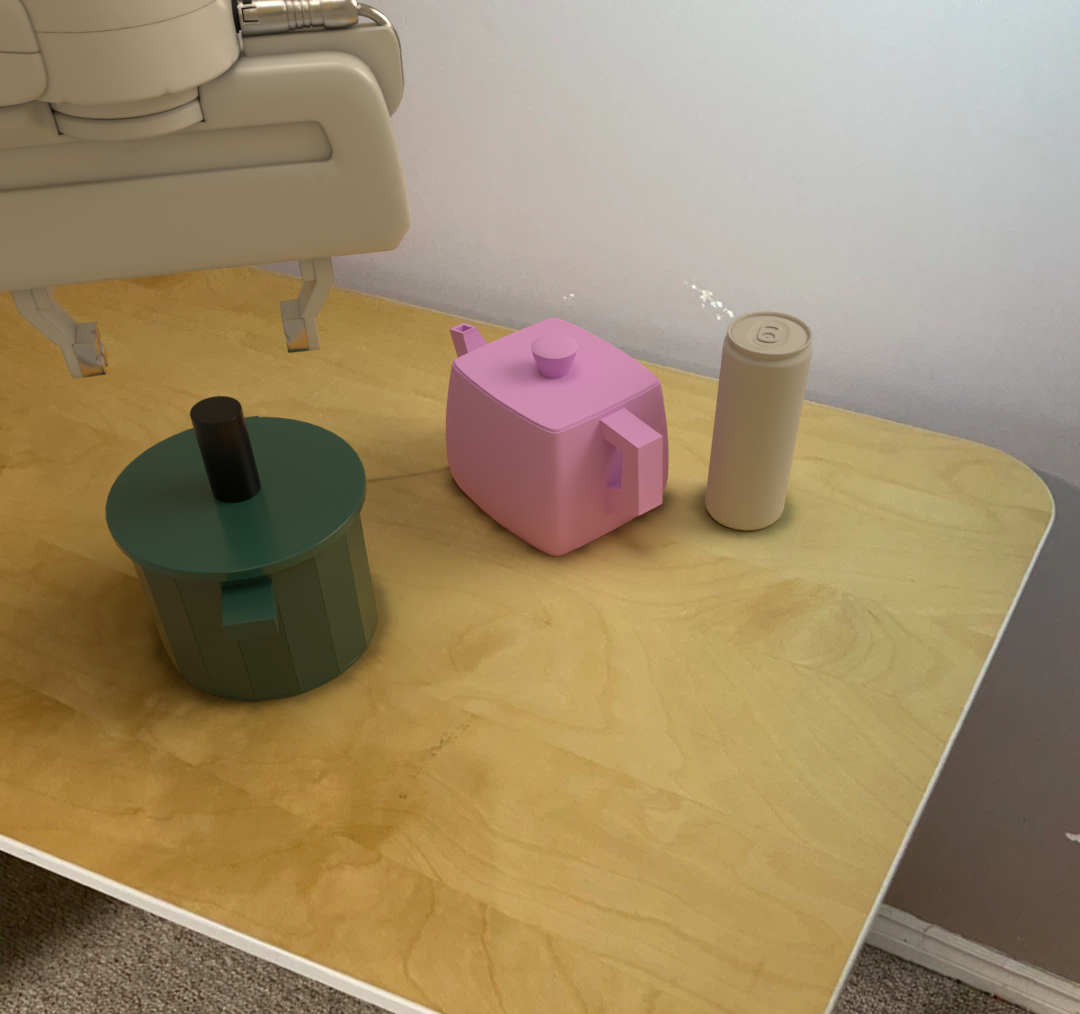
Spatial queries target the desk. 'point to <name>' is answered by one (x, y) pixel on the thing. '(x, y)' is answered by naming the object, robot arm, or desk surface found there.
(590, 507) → the teapot
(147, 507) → the lid
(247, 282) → the desk surface
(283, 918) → the desk surface
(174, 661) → the pot
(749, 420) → the beverage can
